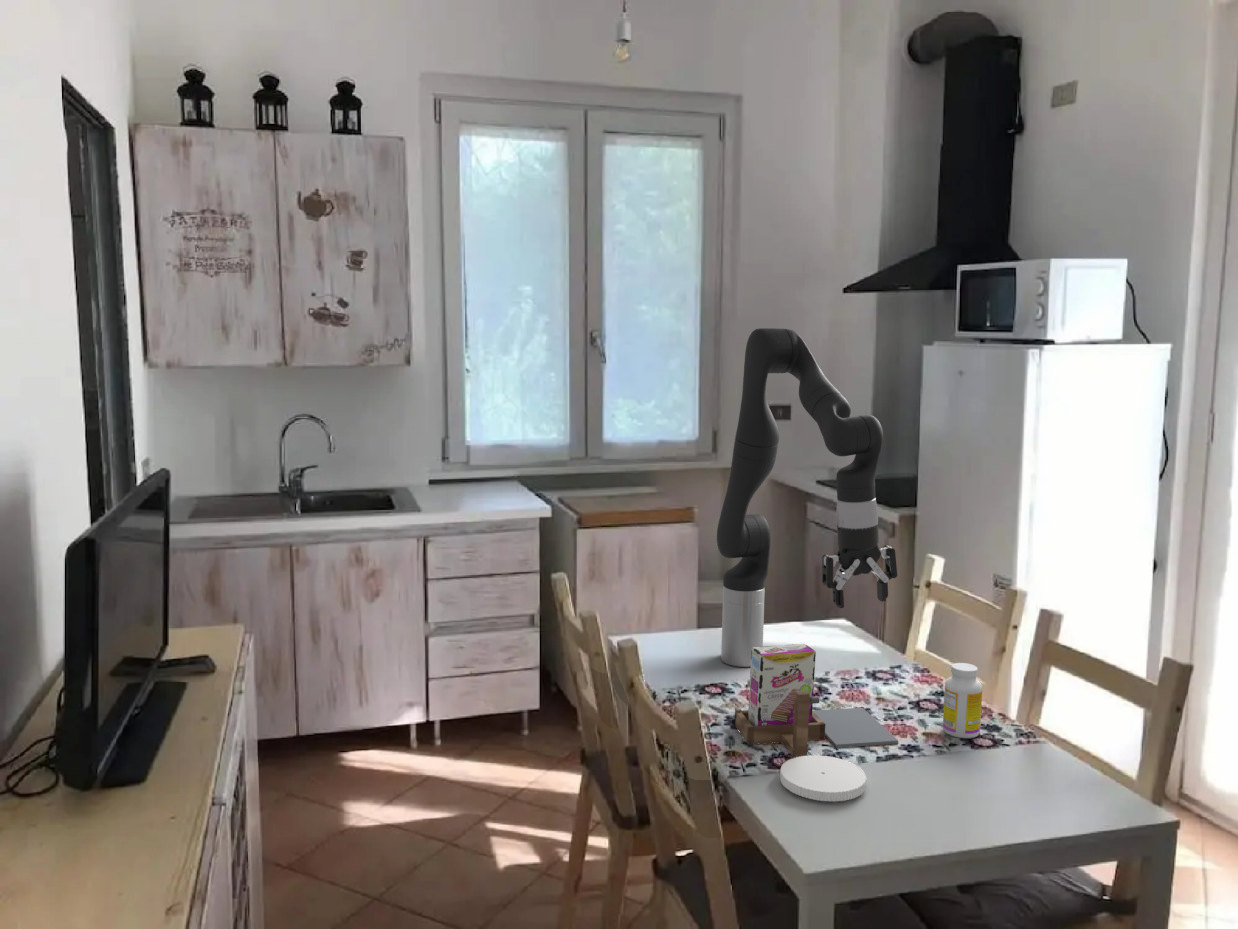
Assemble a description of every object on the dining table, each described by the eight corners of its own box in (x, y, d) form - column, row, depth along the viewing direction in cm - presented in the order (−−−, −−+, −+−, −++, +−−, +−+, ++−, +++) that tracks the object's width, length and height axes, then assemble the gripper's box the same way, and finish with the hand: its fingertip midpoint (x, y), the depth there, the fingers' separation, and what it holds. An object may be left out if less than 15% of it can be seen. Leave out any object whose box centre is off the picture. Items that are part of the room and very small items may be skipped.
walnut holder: (723, 710, 204) (725, 652, 202) (794, 706, 207) (796, 648, 205) (761, 762, 181) (763, 696, 179) (840, 757, 183) (843, 692, 182)
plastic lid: (800, 762, 182) (800, 748, 182) (877, 782, 174) (878, 768, 174) (766, 792, 170) (766, 778, 170) (847, 815, 163) (848, 800, 162)
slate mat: (804, 714, 203) (804, 711, 203) (862, 710, 205) (862, 707, 205) (835, 747, 187) (836, 744, 187) (898, 743, 190) (898, 740, 189)
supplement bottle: (981, 729, 197) (985, 664, 195) (977, 742, 191) (981, 675, 189) (944, 723, 199) (948, 658, 197) (939, 735, 193) (943, 669, 192)
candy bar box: (758, 741, 190) (760, 655, 187) (747, 731, 194) (749, 646, 192) (813, 735, 193) (816, 650, 191) (801, 725, 198) (804, 641, 195)
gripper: (883, 512, 200) (886, 592, 203) (813, 522, 197) (818, 603, 200) (901, 521, 193) (904, 604, 196) (829, 531, 190) (833, 615, 193)
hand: (860, 603), depth 198 cm, fingers open, 8 cm apart
